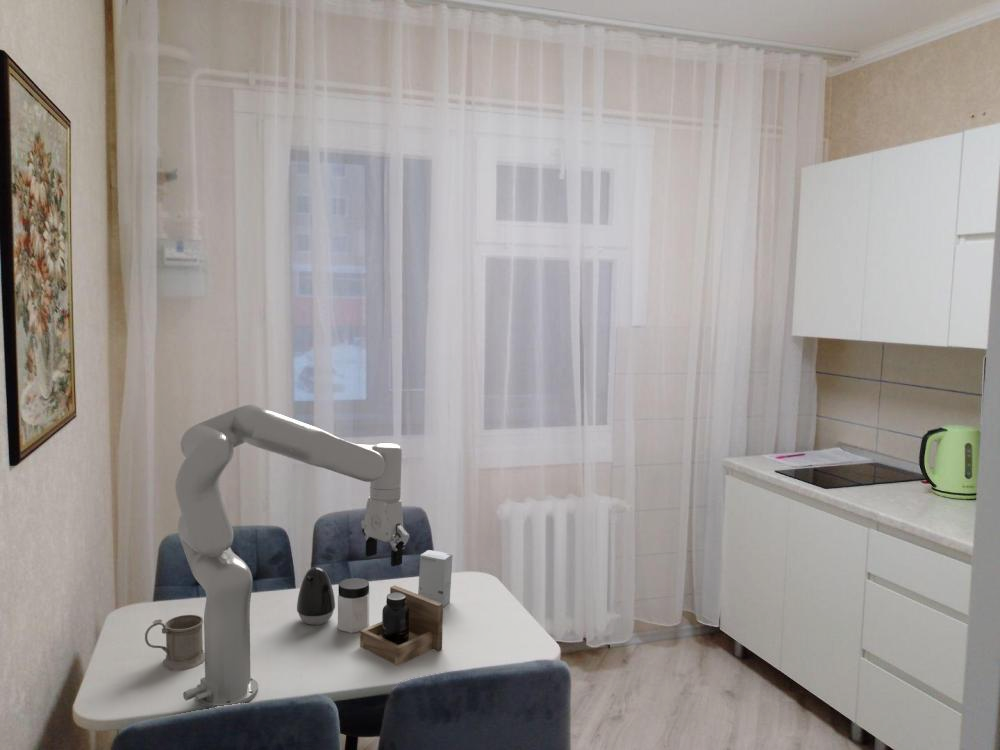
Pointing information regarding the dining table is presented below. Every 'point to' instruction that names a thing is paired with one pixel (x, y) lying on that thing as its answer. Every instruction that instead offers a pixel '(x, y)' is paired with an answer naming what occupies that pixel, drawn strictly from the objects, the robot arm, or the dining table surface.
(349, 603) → the jar
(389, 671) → the dining table surface
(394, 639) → the supplement bottle
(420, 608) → the brown open boxy piece
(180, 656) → the mug
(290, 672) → the dining table surface
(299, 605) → the black aroma diffuser
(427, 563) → the skincare box
